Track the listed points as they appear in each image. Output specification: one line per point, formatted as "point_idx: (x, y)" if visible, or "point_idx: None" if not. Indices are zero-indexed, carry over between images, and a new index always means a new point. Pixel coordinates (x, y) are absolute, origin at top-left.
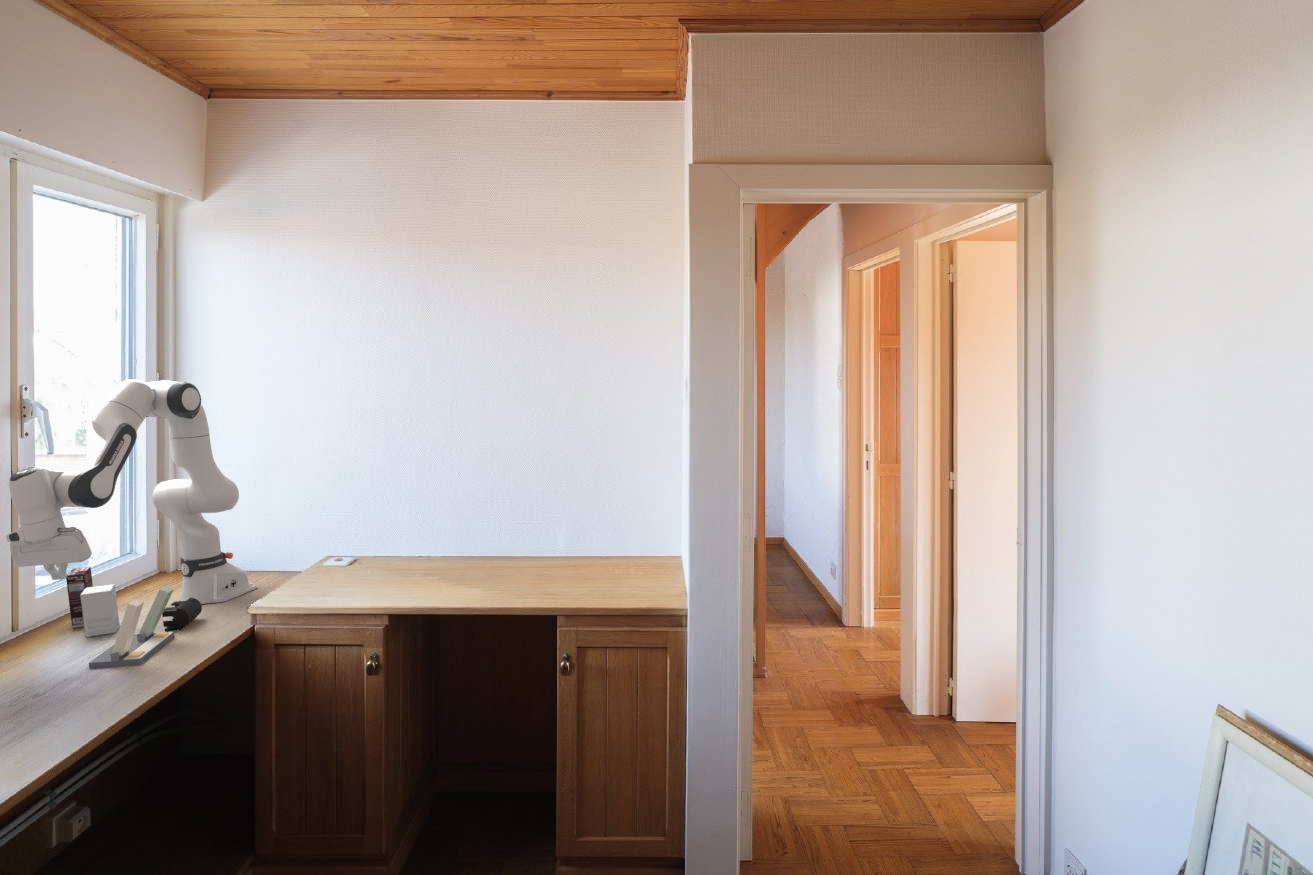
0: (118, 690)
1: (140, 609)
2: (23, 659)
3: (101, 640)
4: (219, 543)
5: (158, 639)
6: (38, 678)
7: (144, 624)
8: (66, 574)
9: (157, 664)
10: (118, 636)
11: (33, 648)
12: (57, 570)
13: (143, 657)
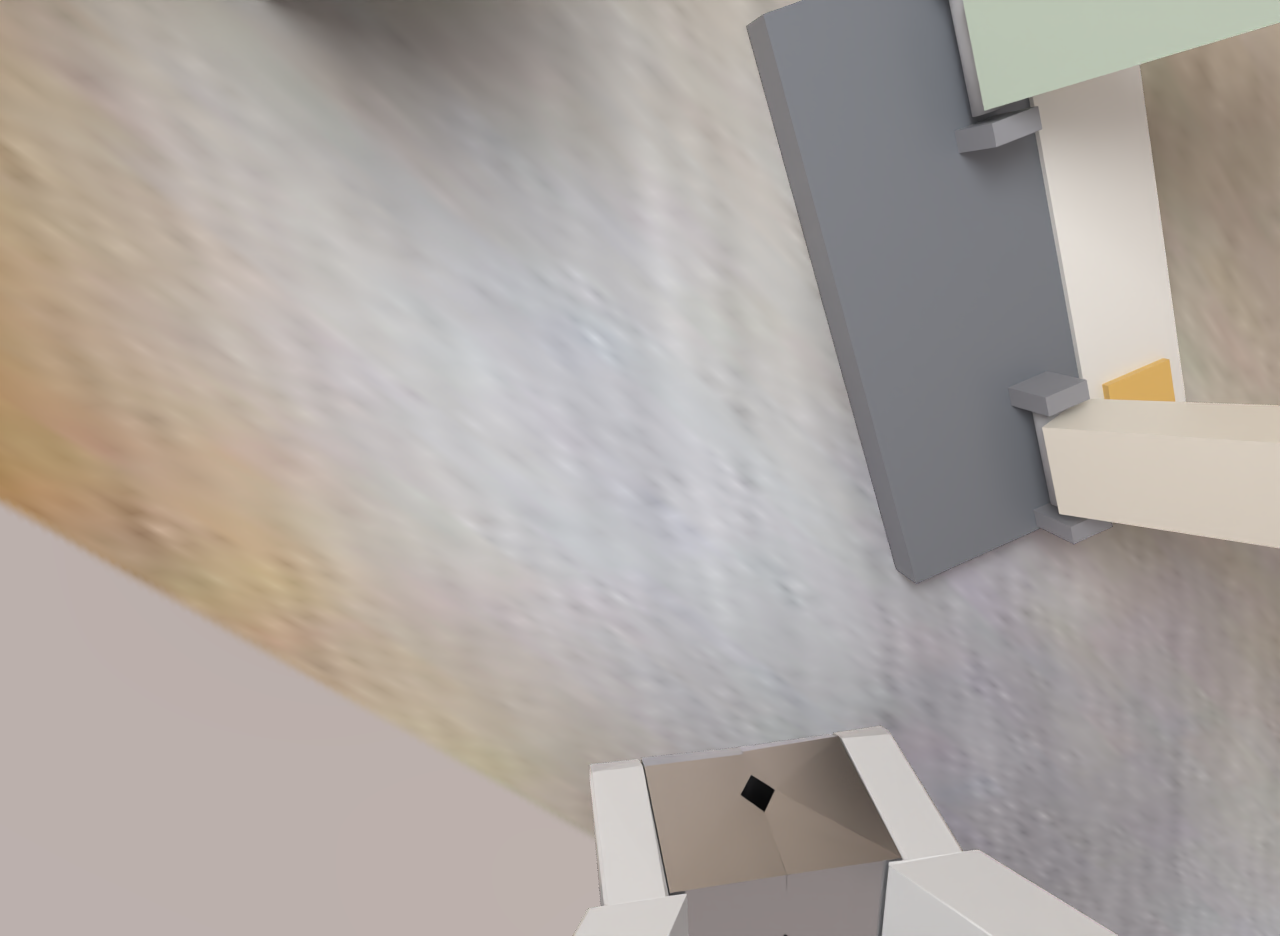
0: (1246, 735)
1: None
2: (247, 558)
3: (507, 64)
4: None
5: (1107, 106)
6: None
7: (1087, 79)
8: (902, 764)
9: None
10: (1206, 533)
11: (40, 346)
12: (676, 924)
13: None
